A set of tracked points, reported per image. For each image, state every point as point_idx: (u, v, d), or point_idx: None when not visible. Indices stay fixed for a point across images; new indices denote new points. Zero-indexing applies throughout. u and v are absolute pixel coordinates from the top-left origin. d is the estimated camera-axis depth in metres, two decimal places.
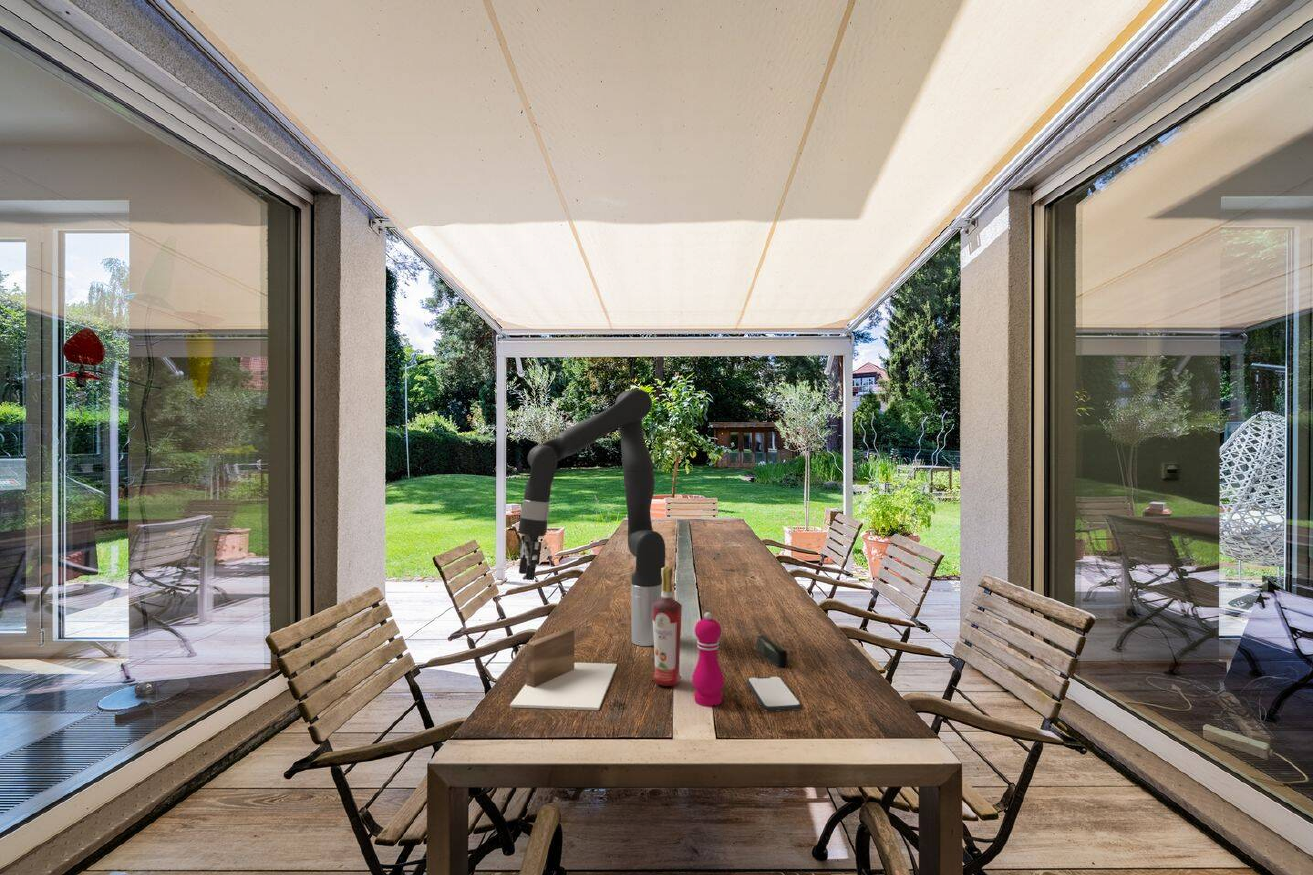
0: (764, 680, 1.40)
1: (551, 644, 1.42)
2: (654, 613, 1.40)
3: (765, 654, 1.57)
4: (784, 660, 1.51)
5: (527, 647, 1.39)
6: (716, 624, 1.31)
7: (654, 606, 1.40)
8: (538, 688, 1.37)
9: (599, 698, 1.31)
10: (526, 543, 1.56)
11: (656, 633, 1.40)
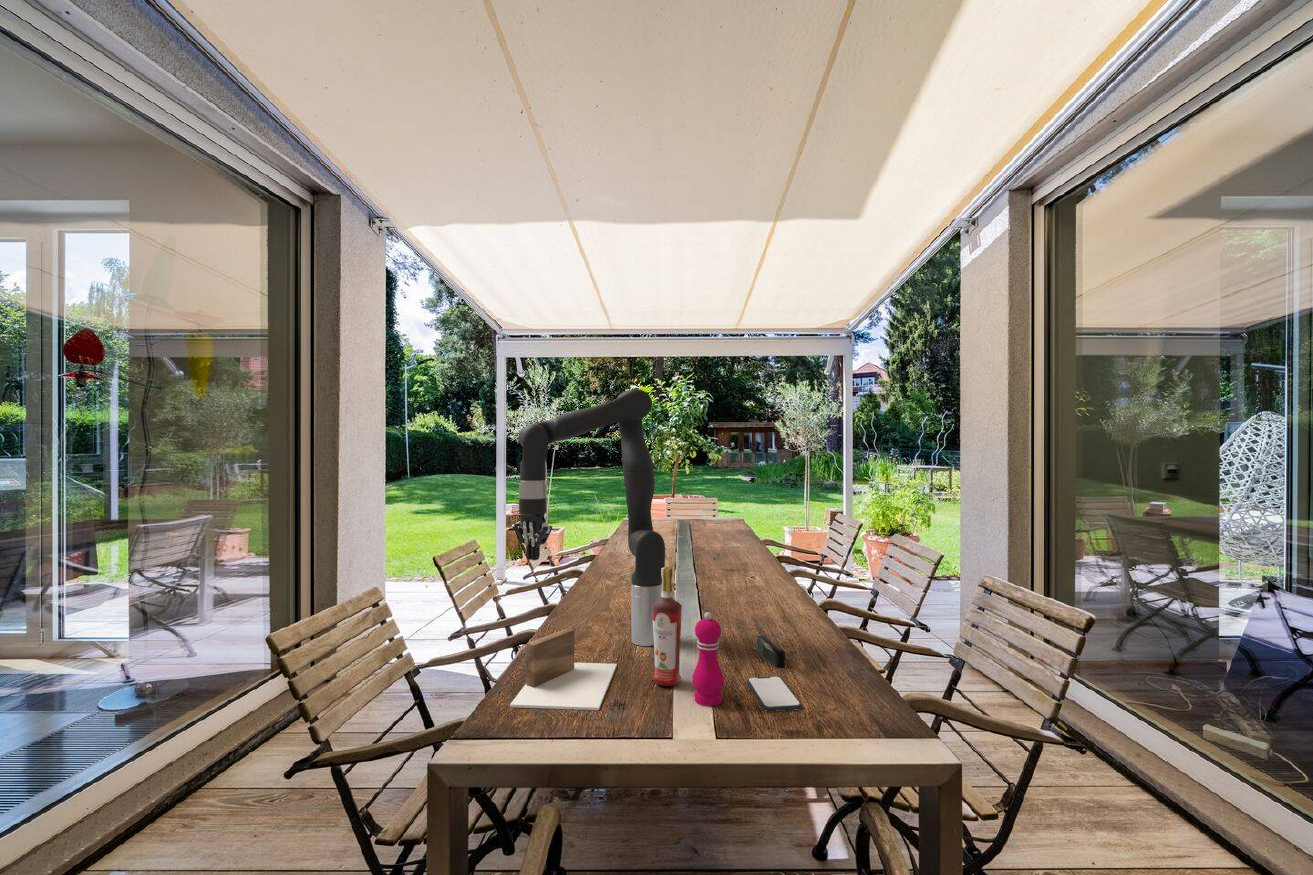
0: (764, 680, 1.40)
1: (551, 644, 1.42)
2: (654, 613, 1.40)
3: (763, 654, 1.58)
4: (782, 660, 1.51)
5: (527, 647, 1.39)
6: (716, 624, 1.31)
7: (654, 606, 1.40)
8: (538, 688, 1.37)
9: (599, 698, 1.31)
10: (533, 524, 1.57)
11: (656, 633, 1.40)
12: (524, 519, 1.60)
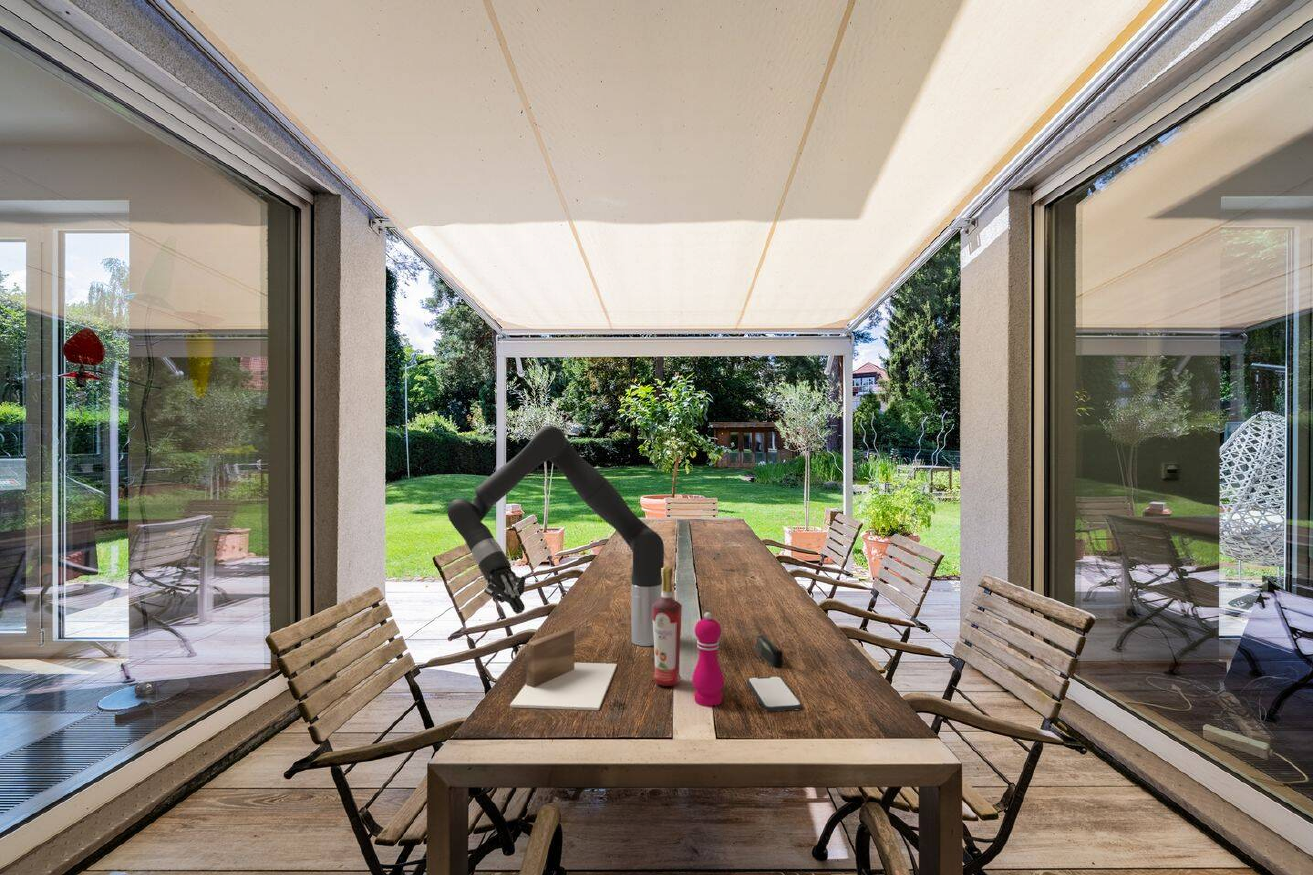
0: (764, 680, 1.40)
1: (551, 644, 1.42)
2: (654, 613, 1.40)
3: (762, 653, 1.58)
4: (779, 660, 1.51)
5: (527, 647, 1.39)
6: (716, 624, 1.31)
7: (654, 606, 1.40)
8: (538, 688, 1.37)
9: (599, 698, 1.31)
10: None
11: (656, 633, 1.40)
12: None
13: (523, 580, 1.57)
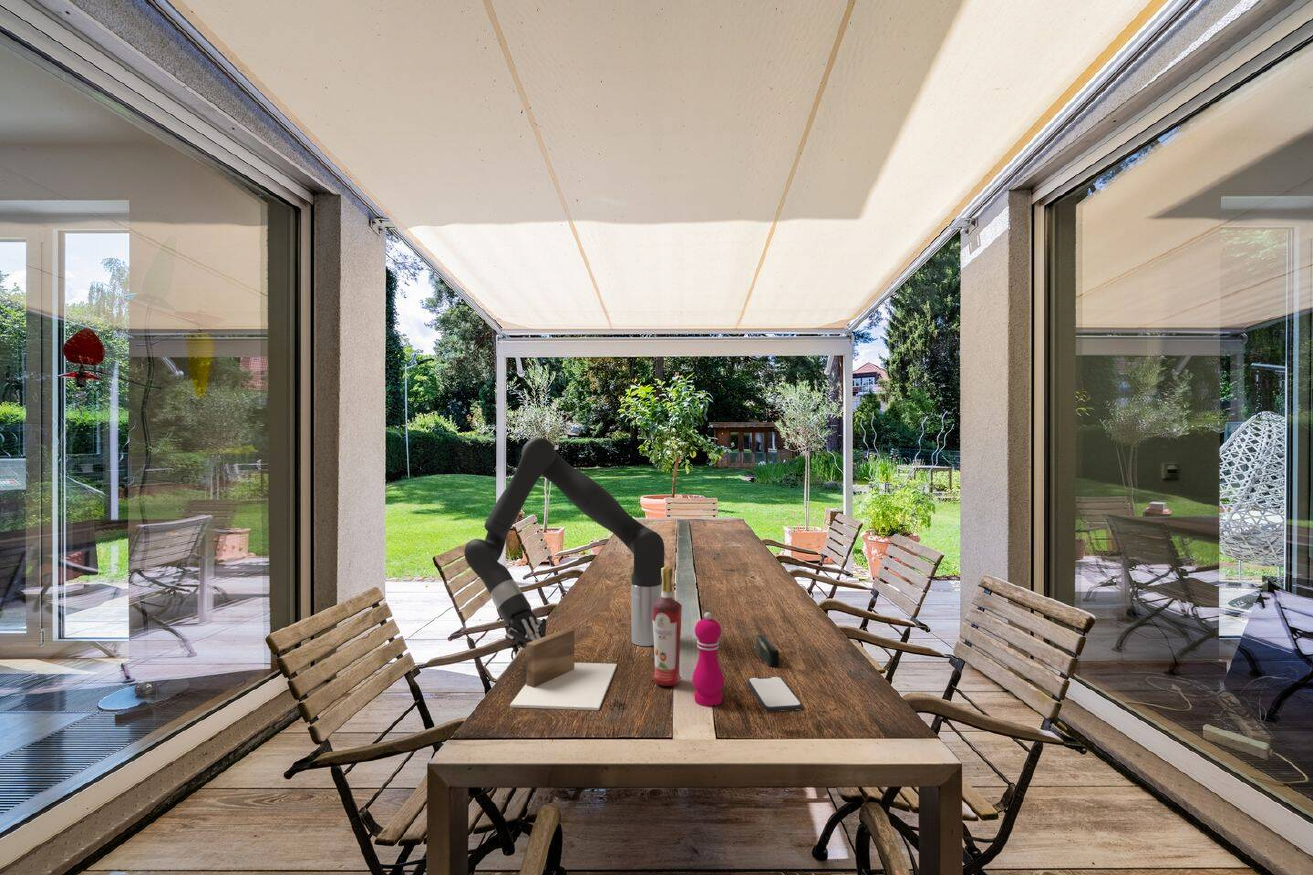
0: (765, 680, 1.40)
1: (551, 644, 1.42)
2: (654, 613, 1.40)
3: (760, 653, 1.58)
4: (775, 660, 1.51)
5: (527, 647, 1.39)
6: (716, 624, 1.31)
7: (654, 606, 1.40)
8: (538, 688, 1.37)
9: (599, 698, 1.31)
10: None
11: (656, 633, 1.40)
12: None
13: (544, 623, 1.53)
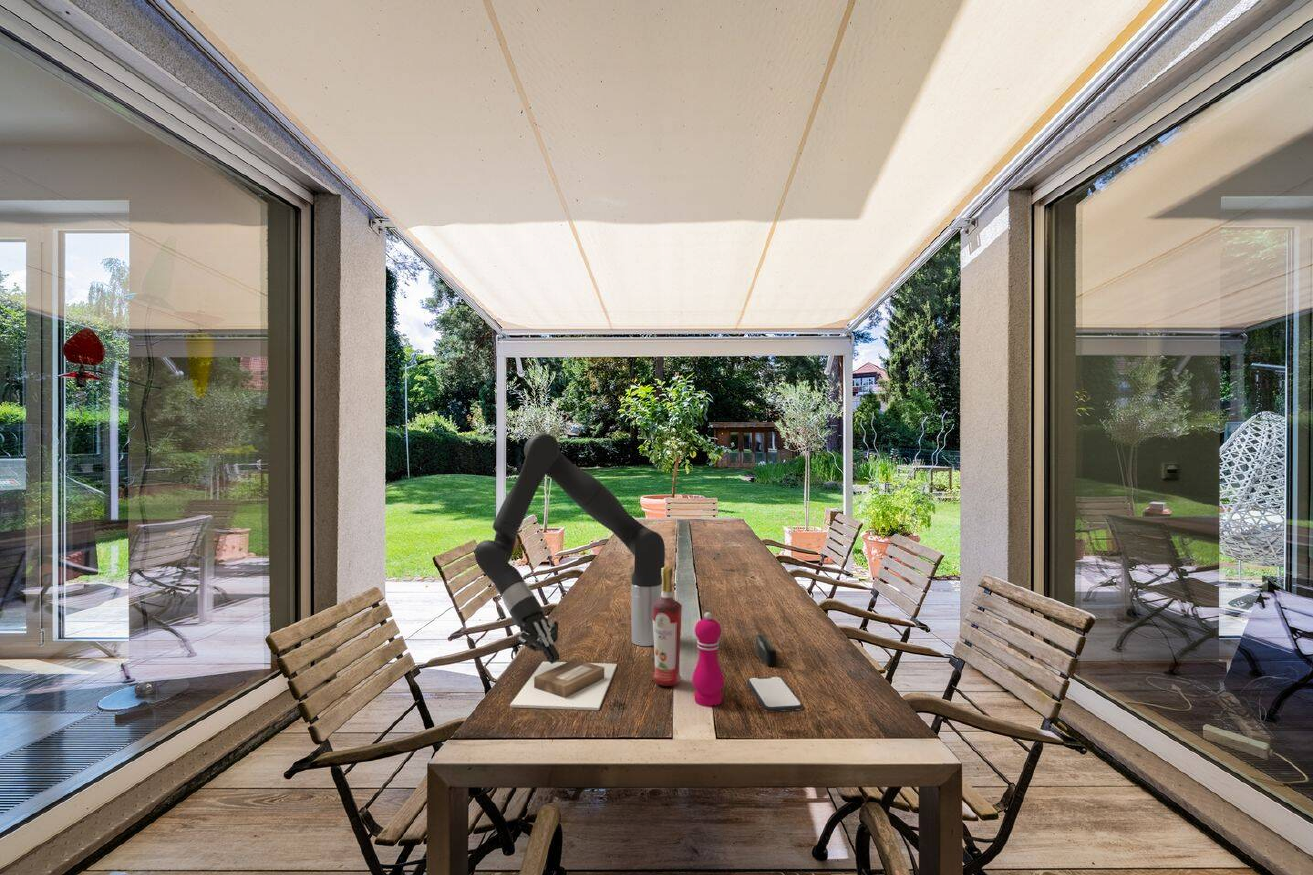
0: (765, 680, 1.40)
1: None
2: (654, 613, 1.40)
3: (759, 653, 1.59)
4: (773, 660, 1.52)
5: (561, 687, 1.32)
6: (716, 624, 1.31)
7: (654, 606, 1.40)
8: None
9: (599, 698, 1.31)
10: None
11: (656, 633, 1.40)
12: None
13: (556, 626, 1.50)
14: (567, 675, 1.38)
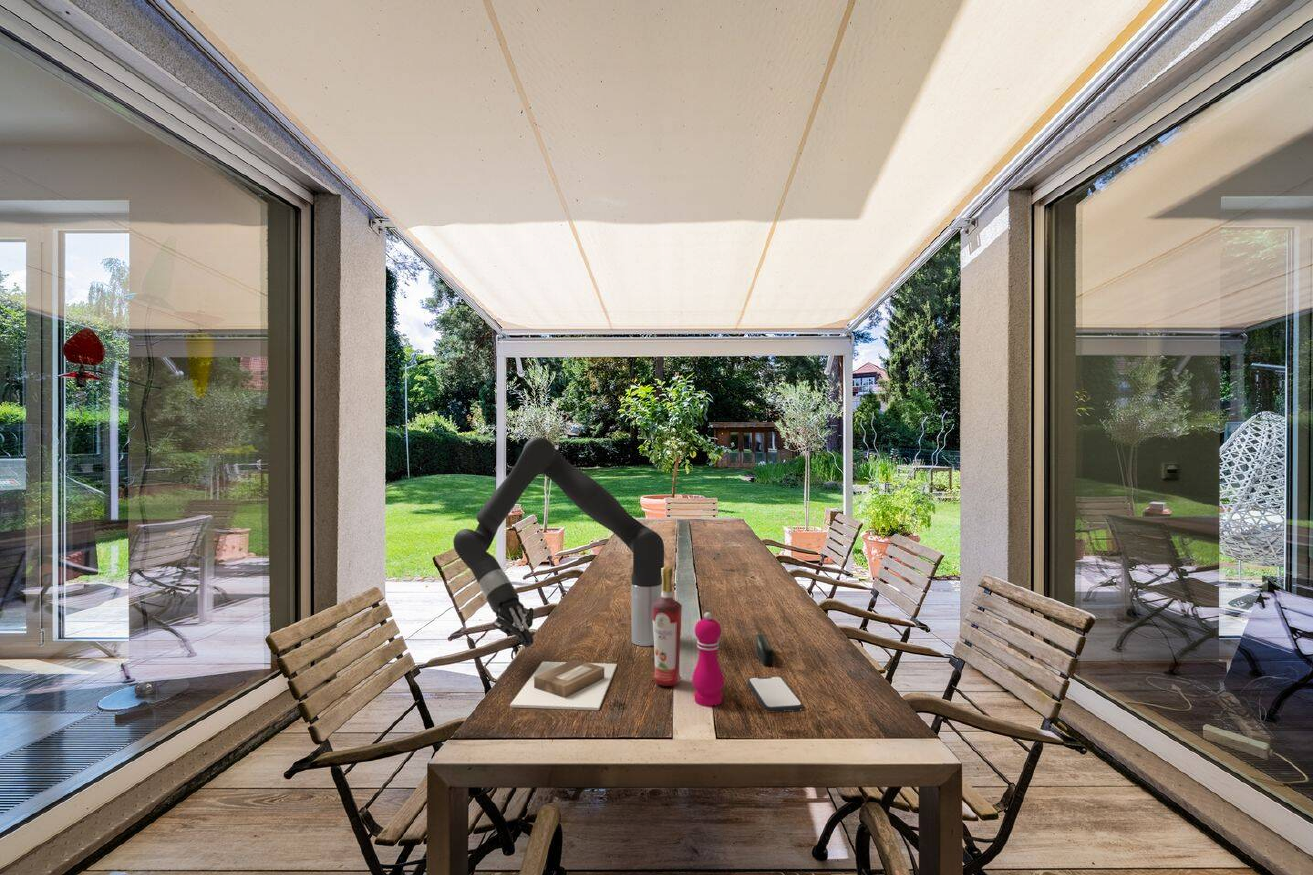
0: (765, 680, 1.40)
1: None
2: (654, 613, 1.40)
3: (757, 652, 1.59)
4: (769, 659, 1.52)
5: (561, 687, 1.32)
6: (716, 624, 1.31)
7: (654, 606, 1.40)
8: None
9: (599, 698, 1.31)
10: None
11: (656, 633, 1.40)
12: None
13: (531, 612, 1.55)
14: (567, 675, 1.38)
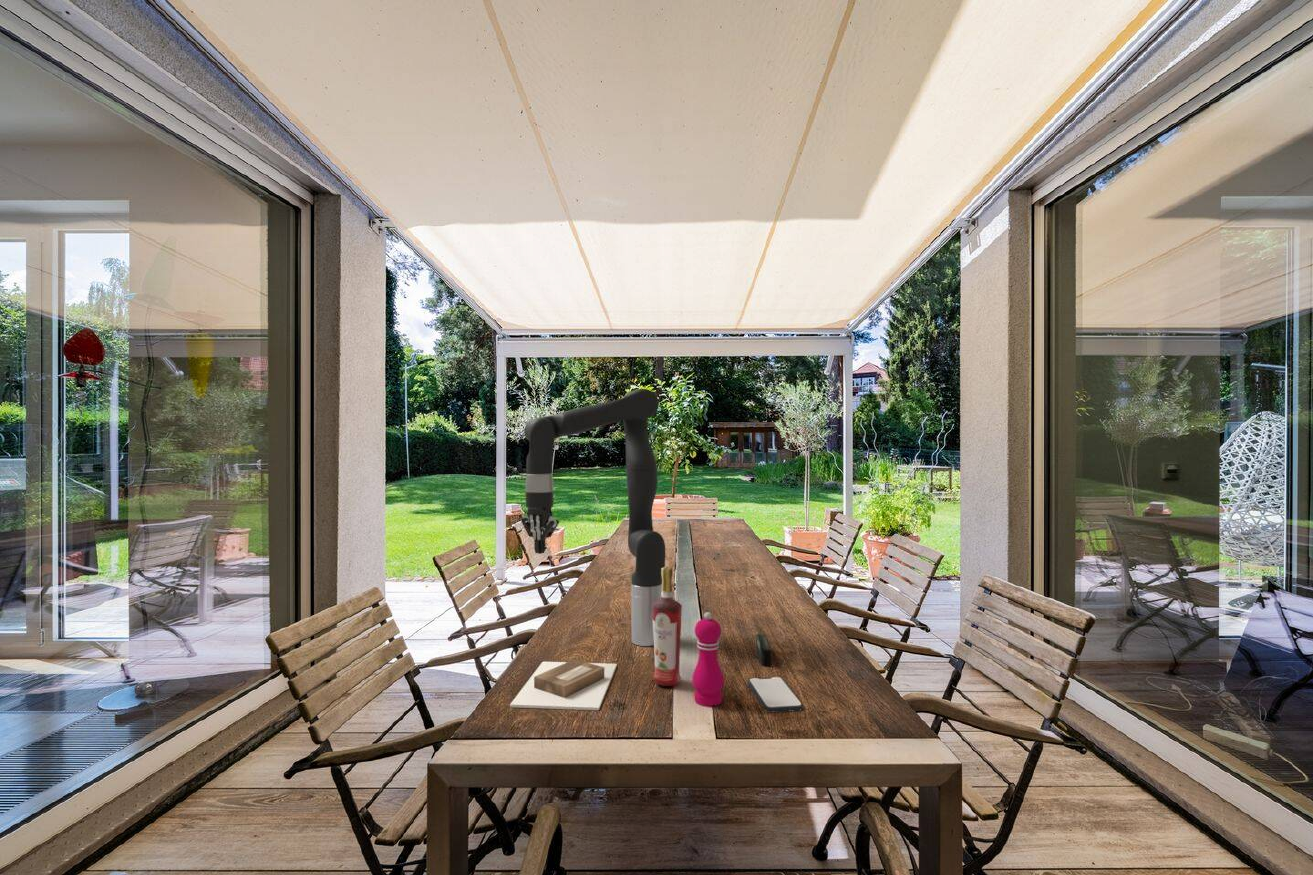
0: (765, 681, 1.40)
1: None
2: (654, 613, 1.40)
3: (757, 652, 1.59)
4: (767, 659, 1.52)
5: (561, 687, 1.32)
6: (716, 624, 1.31)
7: (654, 606, 1.40)
8: None
9: (599, 698, 1.31)
10: (540, 518, 1.57)
11: (656, 633, 1.40)
12: (531, 512, 1.60)
13: None
14: (567, 675, 1.38)
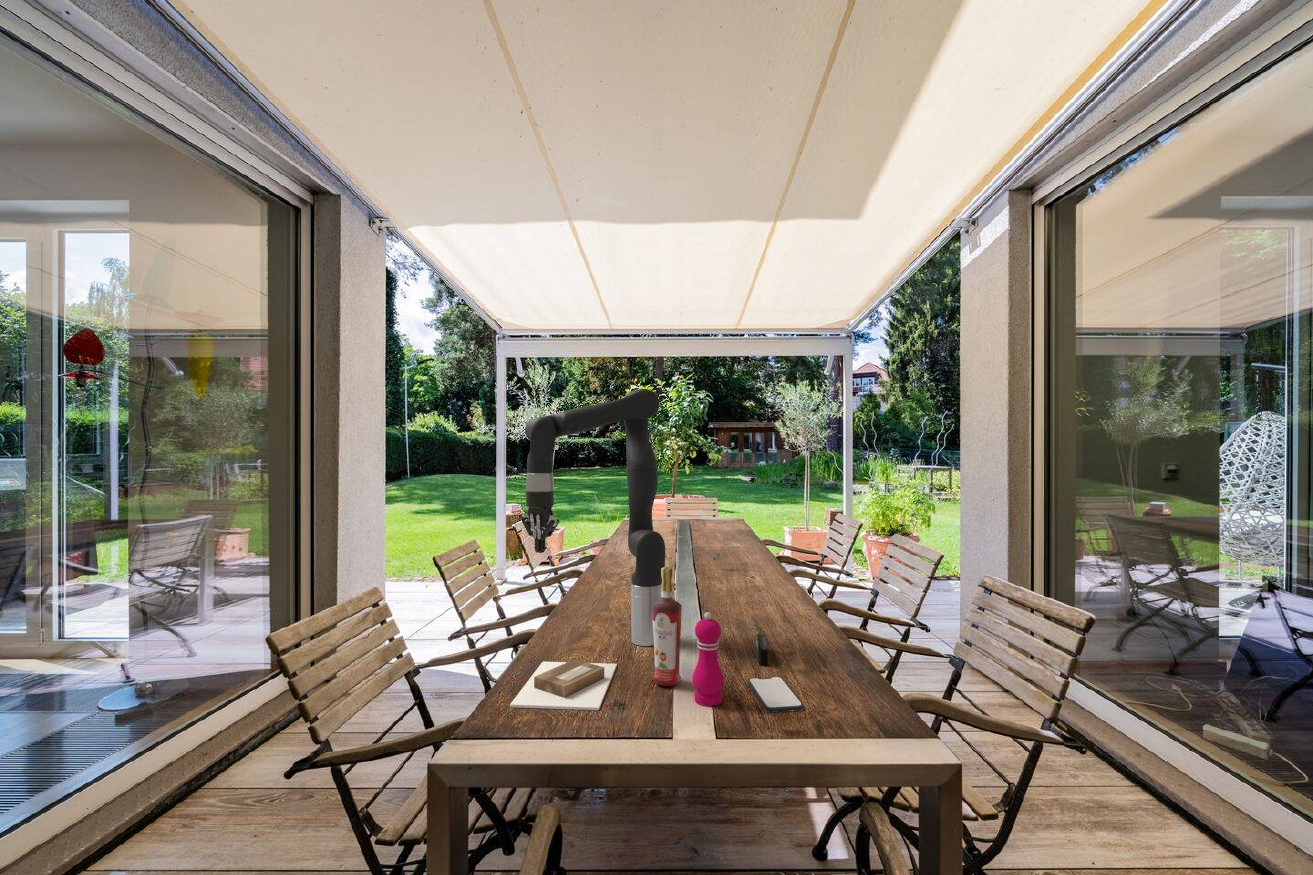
0: (765, 681, 1.39)
1: None
2: (654, 613, 1.40)
3: (755, 651, 1.60)
4: (764, 659, 1.52)
5: (561, 687, 1.32)
6: (716, 624, 1.31)
7: (654, 606, 1.40)
8: None
9: (599, 698, 1.31)
10: (540, 517, 1.57)
11: (656, 633, 1.40)
12: (531, 512, 1.60)
13: None
14: (567, 675, 1.38)
